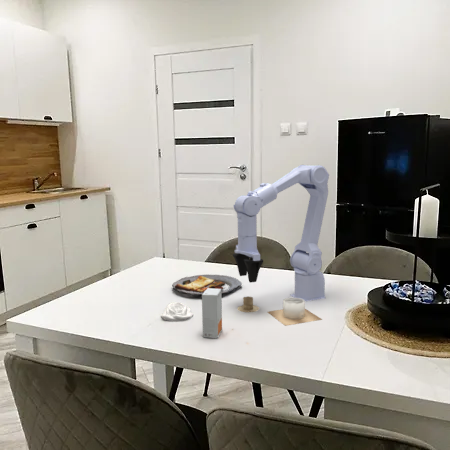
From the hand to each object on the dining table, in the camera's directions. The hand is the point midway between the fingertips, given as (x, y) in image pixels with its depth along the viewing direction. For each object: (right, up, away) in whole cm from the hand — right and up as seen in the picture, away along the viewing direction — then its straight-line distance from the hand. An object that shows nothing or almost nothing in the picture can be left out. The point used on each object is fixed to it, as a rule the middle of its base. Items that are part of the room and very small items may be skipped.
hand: (247, 278), depth 139 cm
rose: (-22, -12, -2) cm, 25 cm away
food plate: (-14, -7, +25) cm, 29 cm away
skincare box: (-10, -13, -16) cm, 23 cm away
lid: (0, -10, +2) cm, 10 cm away
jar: (+13, -10, -5) cm, 18 cm away
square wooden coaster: (+13, -11, -5) cm, 18 cm away
